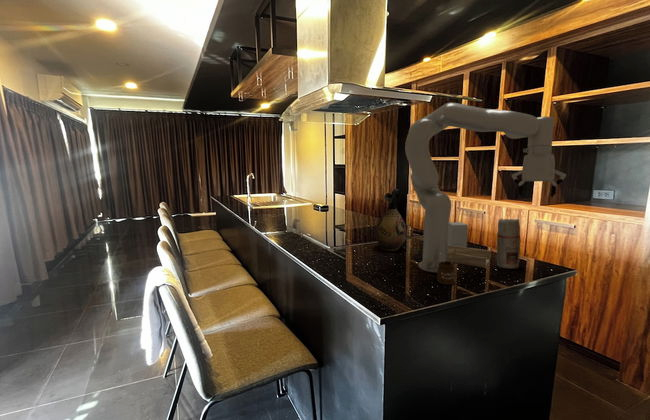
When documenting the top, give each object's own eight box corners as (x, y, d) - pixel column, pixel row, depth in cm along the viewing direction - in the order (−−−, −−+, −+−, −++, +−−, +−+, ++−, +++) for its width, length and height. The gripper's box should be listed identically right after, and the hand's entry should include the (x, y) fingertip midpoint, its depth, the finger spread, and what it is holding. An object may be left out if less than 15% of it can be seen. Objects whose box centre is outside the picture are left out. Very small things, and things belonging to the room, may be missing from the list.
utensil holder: (434, 279, 117) (435, 247, 115) (450, 278, 117) (452, 247, 115) (441, 285, 111) (442, 252, 109) (458, 284, 111) (459, 251, 110)
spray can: (495, 268, 128) (498, 219, 125) (495, 262, 135) (498, 216, 132) (519, 271, 124) (523, 221, 121) (518, 264, 131) (521, 217, 128)
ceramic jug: (398, 255, 148) (399, 191, 143) (369, 250, 157) (369, 190, 153) (412, 247, 161) (414, 188, 157) (385, 242, 170) (385, 187, 166)
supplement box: (467, 250, 154) (468, 224, 152) (451, 250, 154) (452, 224, 153) (460, 246, 162) (462, 221, 160) (446, 246, 162) (447, 222, 160)
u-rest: (485, 267, 128) (485, 258, 128) (430, 259, 141) (431, 250, 140) (490, 259, 139) (491, 250, 138) (439, 251, 152) (439, 243, 151)
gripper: (511, 152, 120) (509, 196, 123) (568, 149, 111) (565, 198, 113) (513, 152, 127) (511, 194, 129) (567, 150, 117) (564, 196, 119)
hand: (536, 196), depth 121 cm, fingers open, 9 cm apart
